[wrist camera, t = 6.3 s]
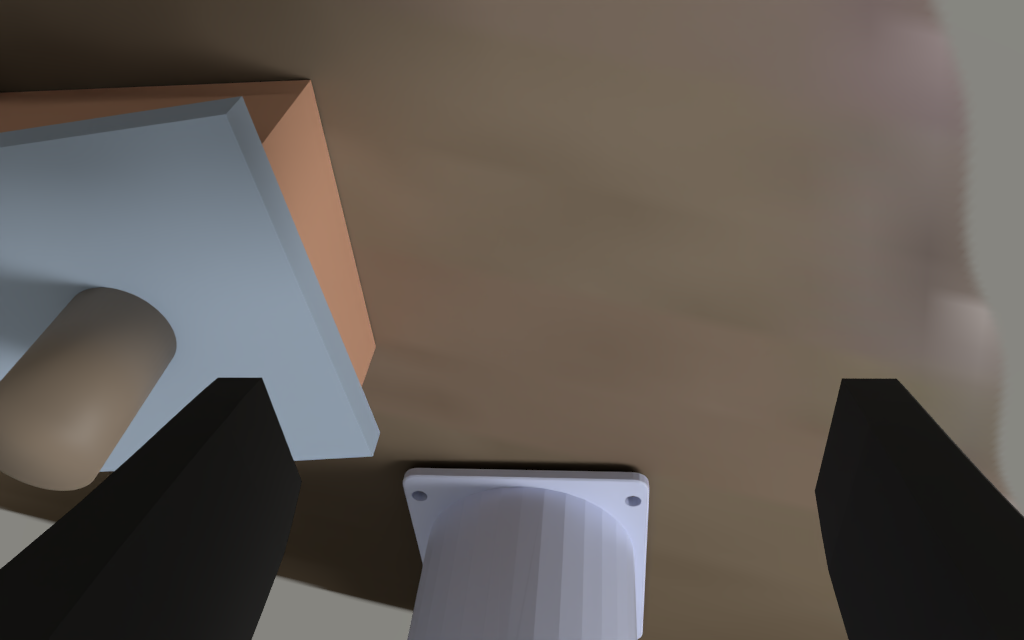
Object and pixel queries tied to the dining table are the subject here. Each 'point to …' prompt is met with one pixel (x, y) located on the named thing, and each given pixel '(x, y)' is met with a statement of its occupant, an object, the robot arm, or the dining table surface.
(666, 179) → the dining table surface
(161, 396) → the lid
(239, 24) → the dining table surface
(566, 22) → the dining table surface
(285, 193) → the orange open box
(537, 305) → the dining table surface
